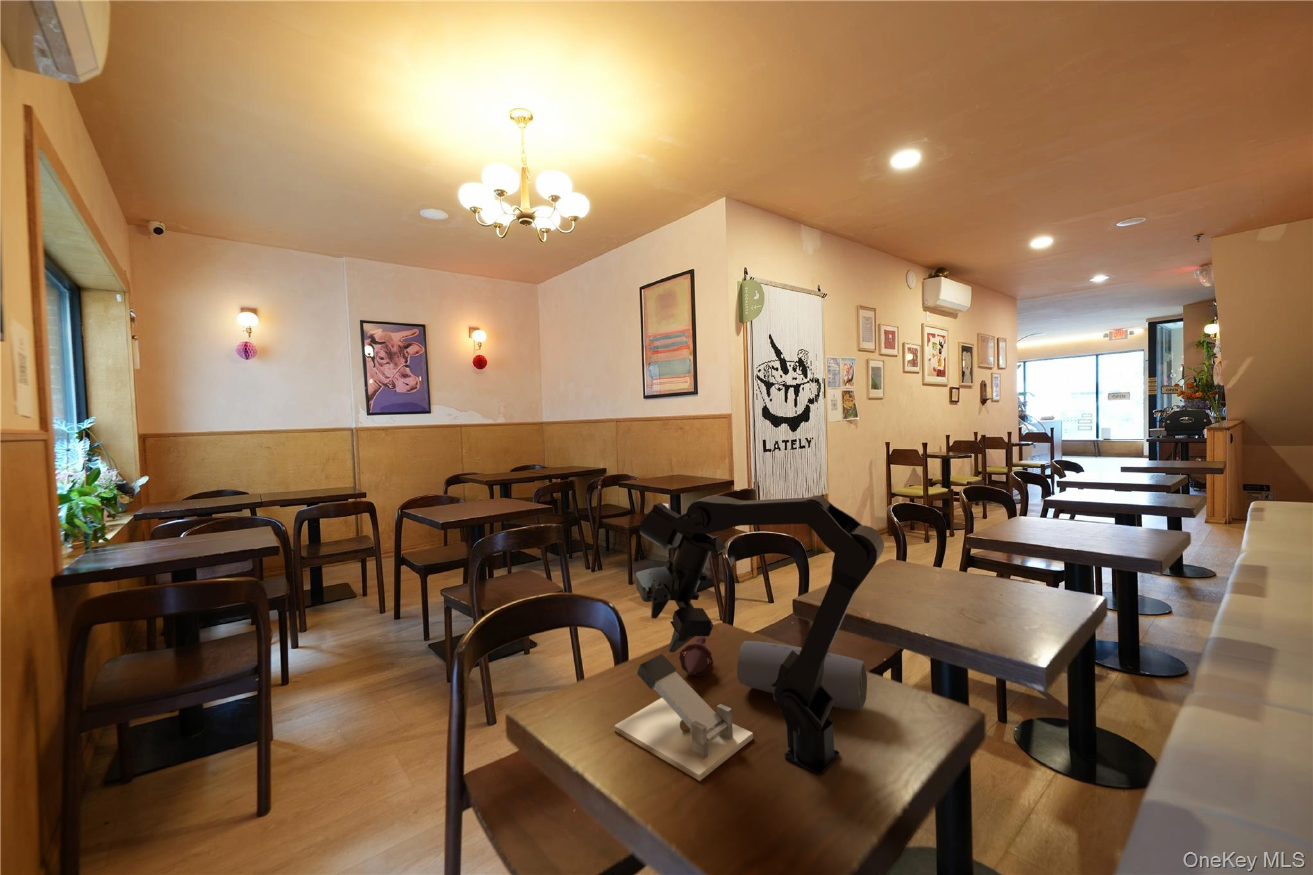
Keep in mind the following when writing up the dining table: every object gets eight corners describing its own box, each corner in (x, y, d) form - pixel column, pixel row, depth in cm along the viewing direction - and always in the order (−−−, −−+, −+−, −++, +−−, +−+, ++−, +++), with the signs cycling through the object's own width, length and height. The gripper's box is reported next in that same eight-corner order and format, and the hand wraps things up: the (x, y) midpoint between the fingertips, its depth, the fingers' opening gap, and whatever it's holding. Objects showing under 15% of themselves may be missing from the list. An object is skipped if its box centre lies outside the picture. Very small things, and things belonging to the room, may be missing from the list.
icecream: (712, 662, 108) (720, 636, 123) (676, 650, 110) (689, 627, 125) (704, 695, 108) (713, 666, 123) (669, 683, 110) (682, 656, 125)
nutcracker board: (753, 738, 93) (751, 704, 93) (699, 780, 83) (697, 743, 83) (668, 698, 107) (667, 669, 107) (614, 730, 98) (612, 698, 97)
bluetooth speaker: (868, 701, 103) (866, 649, 102) (859, 727, 95) (858, 671, 94) (753, 677, 114) (751, 630, 114) (737, 698, 106) (734, 648, 106)
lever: (725, 732, 92) (729, 722, 91) (703, 747, 88) (707, 738, 87) (658, 662, 102) (661, 653, 102) (637, 673, 98) (640, 664, 98)
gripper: (632, 530, 101) (608, 600, 105) (669, 592, 85) (639, 672, 89) (684, 536, 106) (659, 603, 110) (728, 595, 90) (697, 671, 94)
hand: (662, 634), depth 101 cm, fingers open, 9 cm apart
